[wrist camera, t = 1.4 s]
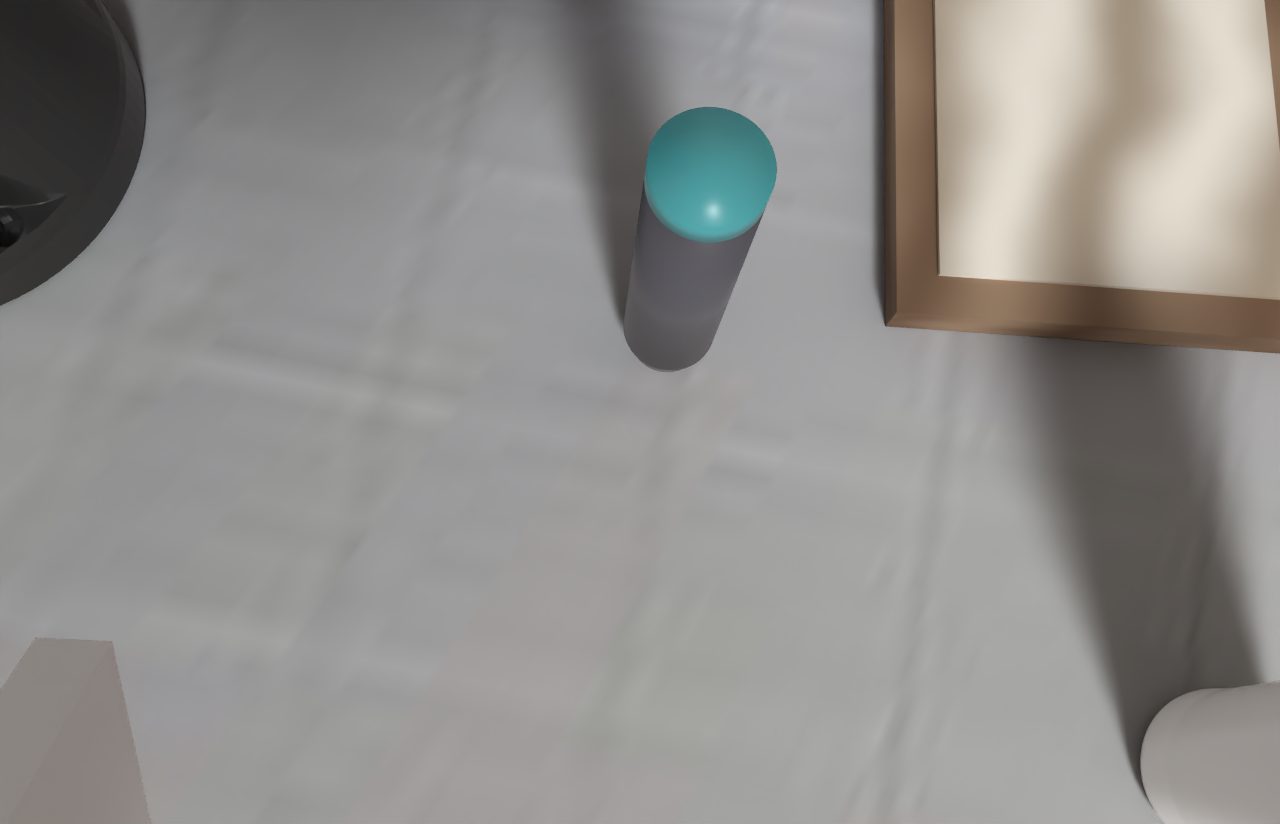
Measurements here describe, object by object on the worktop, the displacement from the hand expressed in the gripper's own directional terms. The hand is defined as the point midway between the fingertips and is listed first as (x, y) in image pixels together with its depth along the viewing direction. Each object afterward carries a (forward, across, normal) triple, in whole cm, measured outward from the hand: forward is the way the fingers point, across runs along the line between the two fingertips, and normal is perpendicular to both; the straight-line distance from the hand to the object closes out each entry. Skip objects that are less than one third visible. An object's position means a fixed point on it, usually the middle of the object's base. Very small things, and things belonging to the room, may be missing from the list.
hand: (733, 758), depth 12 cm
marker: (+28, +1, -8) cm, 29 cm away
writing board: (+34, +17, -2) cm, 38 cm away
